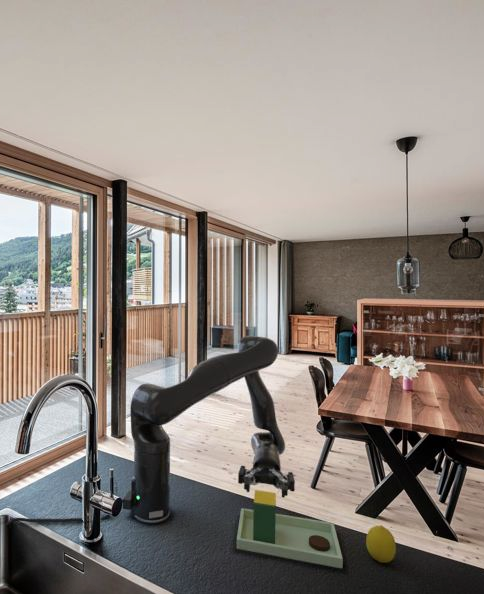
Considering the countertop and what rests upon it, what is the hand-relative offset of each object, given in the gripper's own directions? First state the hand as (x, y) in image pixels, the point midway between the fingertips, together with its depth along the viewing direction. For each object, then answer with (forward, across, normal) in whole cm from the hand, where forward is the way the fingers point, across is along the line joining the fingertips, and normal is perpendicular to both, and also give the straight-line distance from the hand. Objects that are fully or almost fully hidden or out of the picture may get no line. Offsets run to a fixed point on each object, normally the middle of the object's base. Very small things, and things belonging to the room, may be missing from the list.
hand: (265, 491), depth 103 cm
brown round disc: (+7, +12, +7) cm, 16 cm away
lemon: (+8, +24, +8) cm, 27 cm away
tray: (+7, +5, +8) cm, 12 cm away
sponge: (+7, 0, +7) cm, 10 cm away
